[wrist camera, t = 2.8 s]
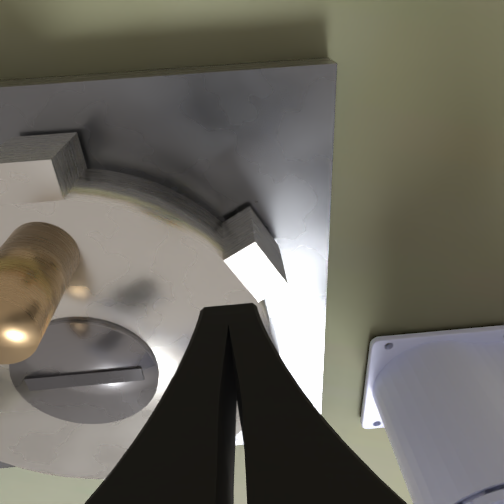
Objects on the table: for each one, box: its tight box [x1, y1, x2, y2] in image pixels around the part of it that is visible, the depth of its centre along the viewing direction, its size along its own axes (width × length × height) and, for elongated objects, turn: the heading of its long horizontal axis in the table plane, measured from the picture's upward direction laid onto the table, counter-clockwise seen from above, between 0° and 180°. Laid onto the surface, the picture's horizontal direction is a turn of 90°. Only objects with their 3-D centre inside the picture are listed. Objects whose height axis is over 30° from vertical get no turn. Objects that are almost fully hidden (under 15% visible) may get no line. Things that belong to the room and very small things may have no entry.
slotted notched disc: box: [0, 132, 288, 480], centre depth 18 cm, size 17×19×7 cm
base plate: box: [0, 58, 337, 468], centre depth 22 cm, size 22×22×2 cm
